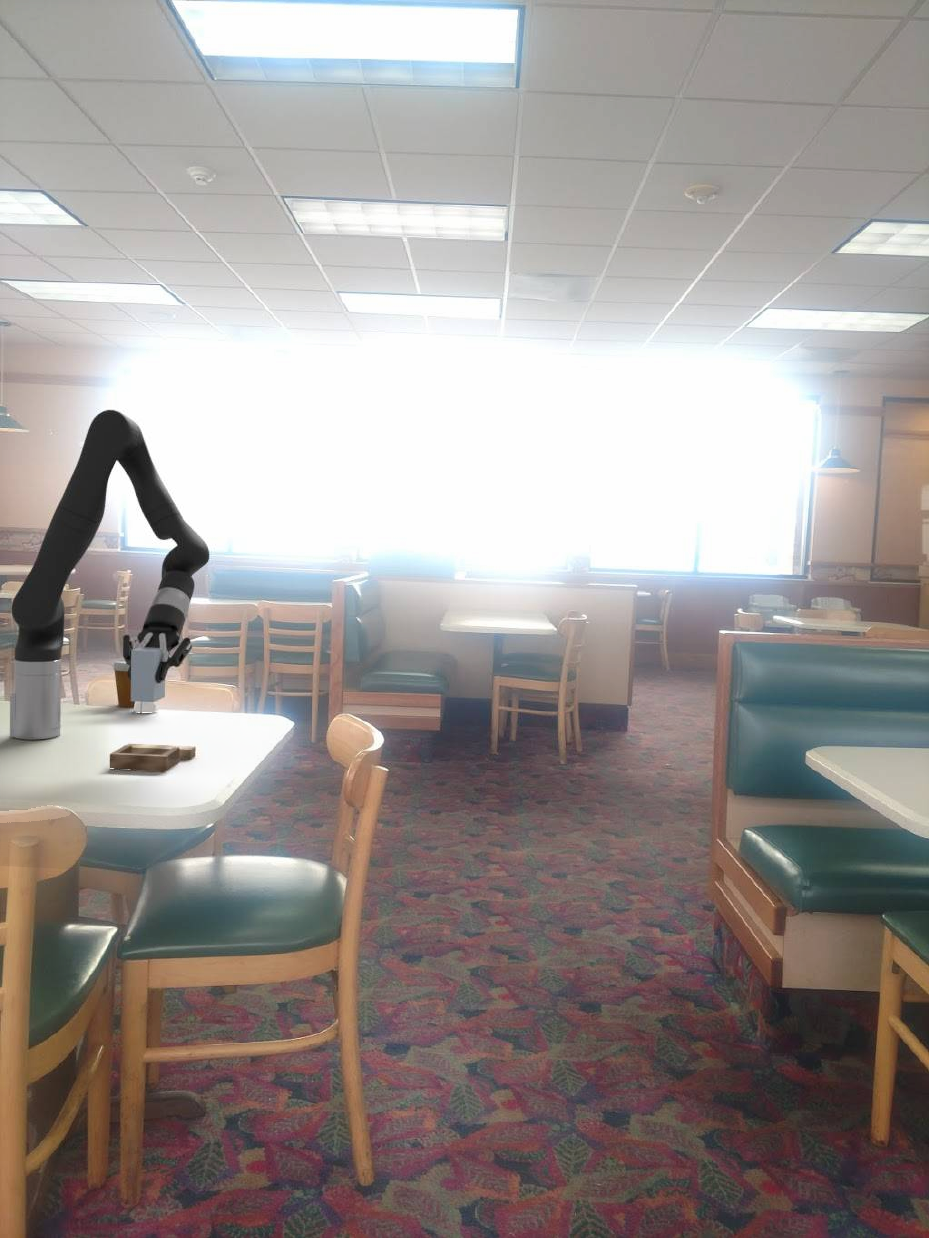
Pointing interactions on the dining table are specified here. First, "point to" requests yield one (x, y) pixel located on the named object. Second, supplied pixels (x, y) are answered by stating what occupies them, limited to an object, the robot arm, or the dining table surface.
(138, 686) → the pale grey upright block
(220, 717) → the dining table surface
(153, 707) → the beer glass
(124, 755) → the tray
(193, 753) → the dock step
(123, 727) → the dining table surface
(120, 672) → the disposable coffee cup
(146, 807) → the dining table surface
